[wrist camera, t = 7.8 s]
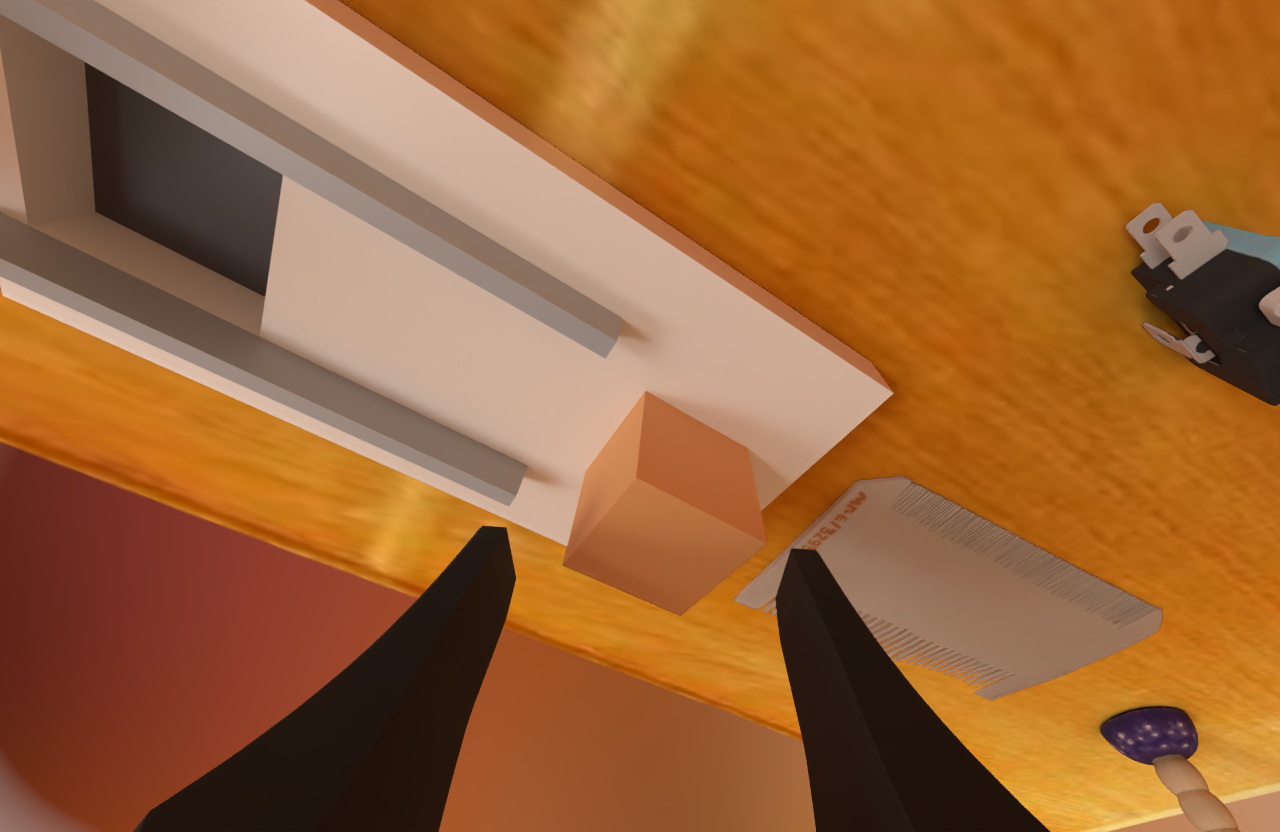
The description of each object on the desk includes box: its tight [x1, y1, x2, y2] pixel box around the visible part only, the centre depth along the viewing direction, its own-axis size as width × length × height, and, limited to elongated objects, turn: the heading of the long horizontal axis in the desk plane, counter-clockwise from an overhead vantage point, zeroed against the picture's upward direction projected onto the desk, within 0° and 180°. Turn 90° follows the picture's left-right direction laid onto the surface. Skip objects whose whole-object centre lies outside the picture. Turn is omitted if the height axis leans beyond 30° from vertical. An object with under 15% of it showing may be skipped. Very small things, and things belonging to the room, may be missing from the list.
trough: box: [0, 0, 893, 546], centre depth 14 cm, size 24×12×4 cm, turn 58°
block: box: [563, 391, 767, 616], centre depth 14 cm, size 4×4×4 cm
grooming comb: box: [734, 476, 1163, 700], centre depth 23 cm, size 18×10×1 cm, turn 62°
